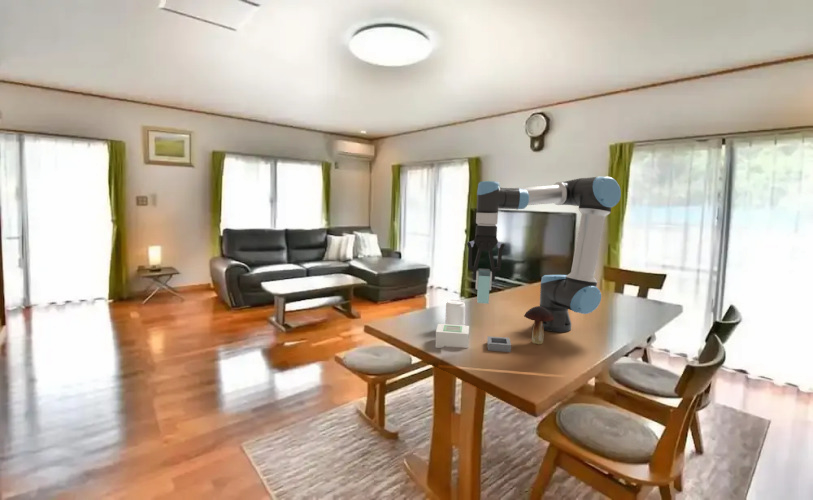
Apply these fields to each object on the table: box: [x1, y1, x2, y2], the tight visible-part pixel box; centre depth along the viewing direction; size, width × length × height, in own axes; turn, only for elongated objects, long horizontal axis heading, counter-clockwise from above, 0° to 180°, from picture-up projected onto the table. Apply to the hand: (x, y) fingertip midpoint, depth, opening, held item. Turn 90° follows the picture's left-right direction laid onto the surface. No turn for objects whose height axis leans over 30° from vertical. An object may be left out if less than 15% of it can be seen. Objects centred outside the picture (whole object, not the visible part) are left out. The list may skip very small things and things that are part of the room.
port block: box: [435, 323, 470, 349], centre depth 151 cm, size 12×10×6 cm
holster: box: [486, 335, 512, 353], centre depth 147 cm, size 8×8×3 cm
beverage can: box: [444, 299, 466, 326], centre depth 169 cm, size 8×8×12 cm
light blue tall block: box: [476, 268, 491, 305], centre depth 146 cm, size 4×4×12 cm
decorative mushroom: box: [523, 305, 554, 345], centre depth 151 cm, size 11×11×15 cm
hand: (483, 288), depth 146 cm, fingers closed on light blue tall block, 4 cm apart
